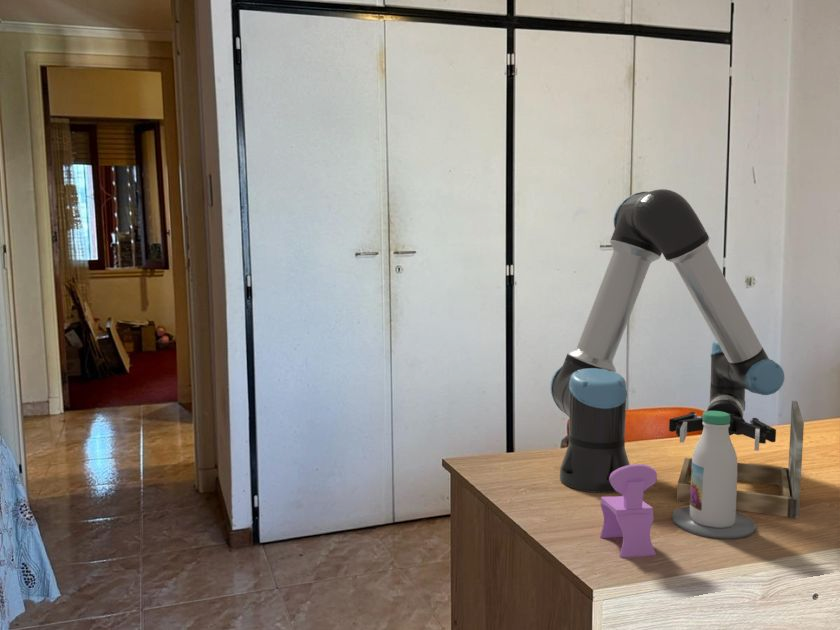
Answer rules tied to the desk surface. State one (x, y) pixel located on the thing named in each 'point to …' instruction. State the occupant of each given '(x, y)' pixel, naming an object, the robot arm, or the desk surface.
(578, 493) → the desk surface
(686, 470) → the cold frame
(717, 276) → the robot arm
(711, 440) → the milk bottle
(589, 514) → the desk surface
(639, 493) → the toy chair
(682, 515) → the pad
